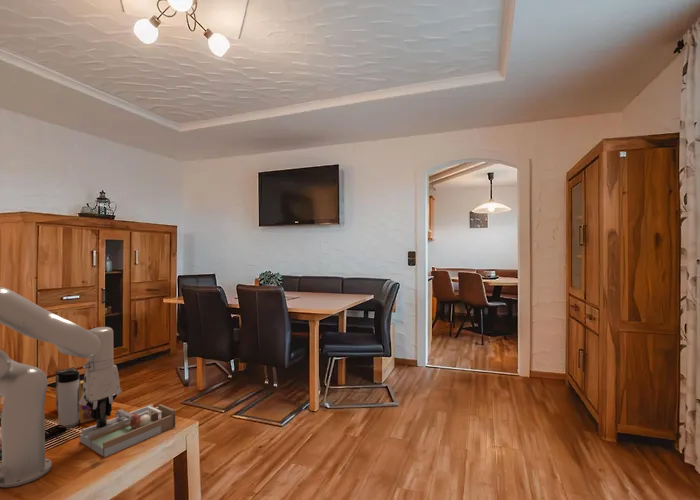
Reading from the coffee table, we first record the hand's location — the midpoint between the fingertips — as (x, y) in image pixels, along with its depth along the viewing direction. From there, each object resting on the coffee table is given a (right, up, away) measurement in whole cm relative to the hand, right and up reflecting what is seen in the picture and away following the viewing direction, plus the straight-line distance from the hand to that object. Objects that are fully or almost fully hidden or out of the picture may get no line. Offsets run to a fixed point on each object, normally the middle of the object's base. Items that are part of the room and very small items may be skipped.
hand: (101, 416), depth 130 cm
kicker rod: (+5, -5, 0) cm, 7 cm away
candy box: (-13, -8, +15) cm, 21 cm away
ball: (+13, -3, +5) cm, 14 cm away
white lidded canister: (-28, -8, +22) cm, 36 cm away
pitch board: (+8, -8, +3) cm, 12 cm away
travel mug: (-19, -8, +10) cm, 23 cm away
